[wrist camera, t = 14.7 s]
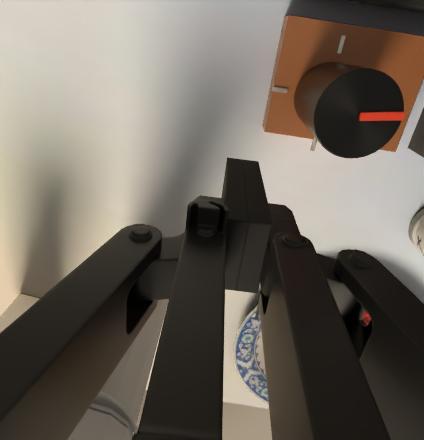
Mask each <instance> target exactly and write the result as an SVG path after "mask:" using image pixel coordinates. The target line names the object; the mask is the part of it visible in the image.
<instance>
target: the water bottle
mask: <svg viewBox="0 0 424 440" xmlns="http://www.w3.org/2000/svg"><path fill="white" fill-rule="evenodd" d="M168 301H169V299H164V300H158V304H157V307H156V308H155V310H154V311H153V313H152V314H151V316H150V317H149V319H148V320H147V322H146V323H145V325H144V326H143V328H142V329H141V331H140V332H139V334H138V335H137V337H136V338H135V340H134V341H133V343H132V344H131V346H130V347H129V349H128V350H127V352H126V353H125V355H124V356H123V358H122V359H121V361H120V362H119V364H118V365H117V367H116V368H115V370H114V371H113V373H112V374H111V376H110V377H109V379H108V380H107V382H106V383H105V385H104V386H103V388H102V389H101V391H100V392H99V394H98V395H97V397H96V398H95V400H94V401H93V402H92V404H91V405H90V407H89V408H88V410H87V411H86V413H85V414H84V416H83V417H82V419H81V420H80V422H79V423H78V425H77V426H76V428H75V429H74V431H73V432H72V434H71V435H70V437H69V438H68V440H132V438H133V431H134V434H136V433H137V431H138V428H137V425H136V423H137V419H138V415H139V412H140V408H141V404H142V400H143V396H144V392H145V389H146V385H147V381H148V377H149V373H150V370H151V366H152V362H153V358H154V354H155V350H156V347H157V343H158V339H159V335H160V331H161V327H162V324H163V320H164V316H165V312H166V308H167V304H168Z"/></svg>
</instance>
